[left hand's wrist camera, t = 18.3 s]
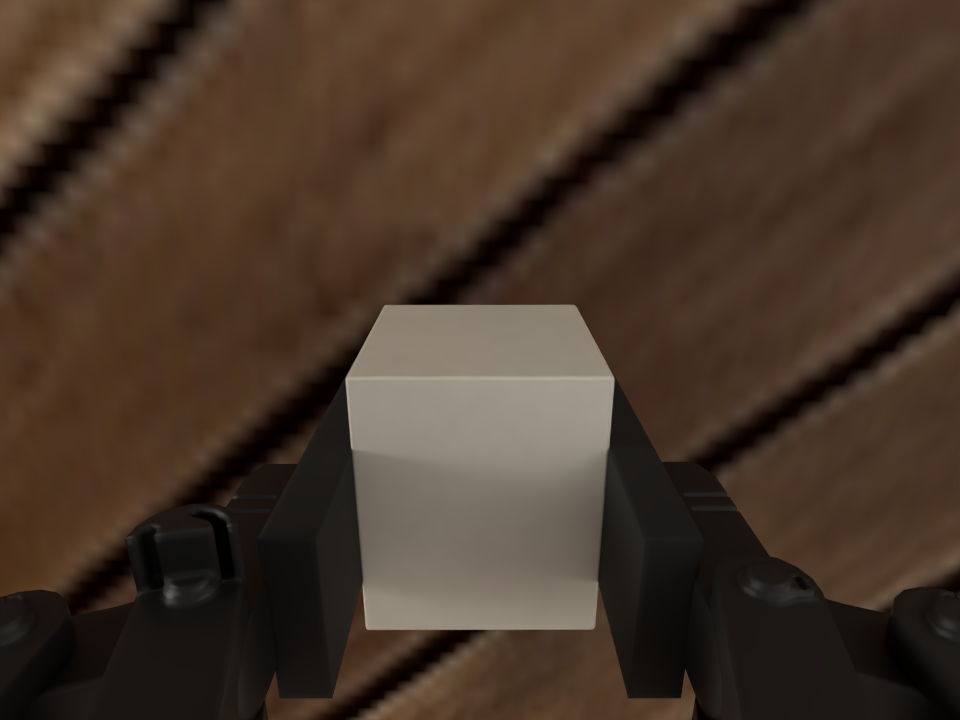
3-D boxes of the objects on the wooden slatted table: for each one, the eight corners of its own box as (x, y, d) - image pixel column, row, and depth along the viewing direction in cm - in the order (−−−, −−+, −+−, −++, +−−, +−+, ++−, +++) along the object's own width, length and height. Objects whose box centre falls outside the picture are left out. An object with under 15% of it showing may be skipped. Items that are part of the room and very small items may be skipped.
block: (394, 501, 16) (365, 631, 12) (383, 304, 14) (344, 377, 10) (565, 500, 16) (595, 631, 12) (576, 304, 14) (615, 377, 10)
